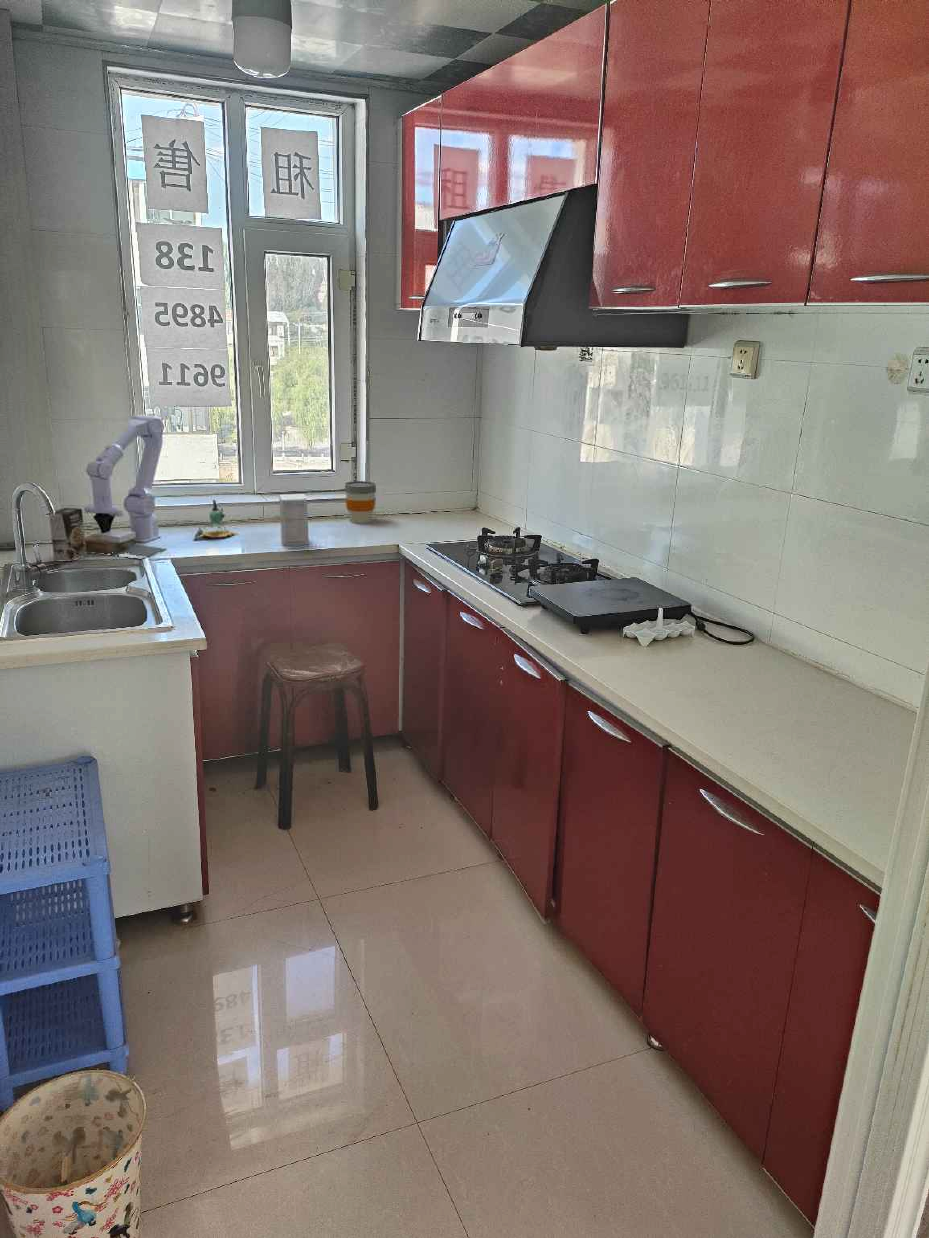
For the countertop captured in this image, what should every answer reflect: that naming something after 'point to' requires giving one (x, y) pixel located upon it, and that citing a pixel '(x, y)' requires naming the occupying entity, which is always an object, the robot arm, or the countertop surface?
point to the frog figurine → (215, 518)
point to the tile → (117, 536)
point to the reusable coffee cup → (360, 501)
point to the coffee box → (68, 534)
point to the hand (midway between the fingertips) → (106, 535)
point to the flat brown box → (105, 544)
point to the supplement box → (294, 519)
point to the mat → (139, 550)
